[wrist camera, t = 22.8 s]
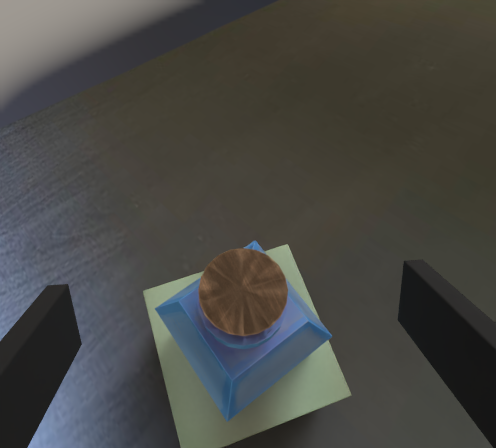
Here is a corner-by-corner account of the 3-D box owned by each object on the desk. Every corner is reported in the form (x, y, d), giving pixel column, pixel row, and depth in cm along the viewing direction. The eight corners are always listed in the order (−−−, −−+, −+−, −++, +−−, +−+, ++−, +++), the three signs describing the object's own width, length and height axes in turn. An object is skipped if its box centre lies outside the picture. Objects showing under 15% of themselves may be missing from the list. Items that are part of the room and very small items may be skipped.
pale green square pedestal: (198, 448, 29) (184, 462, 22) (163, 315, 33) (142, 290, 26) (325, 398, 31) (352, 395, 23) (277, 277, 35) (287, 243, 27)
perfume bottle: (174, 330, 25) (122, 271, 14) (252, 275, 26) (260, 184, 16) (230, 418, 23) (221, 429, 12) (311, 352, 24) (367, 309, 14)
